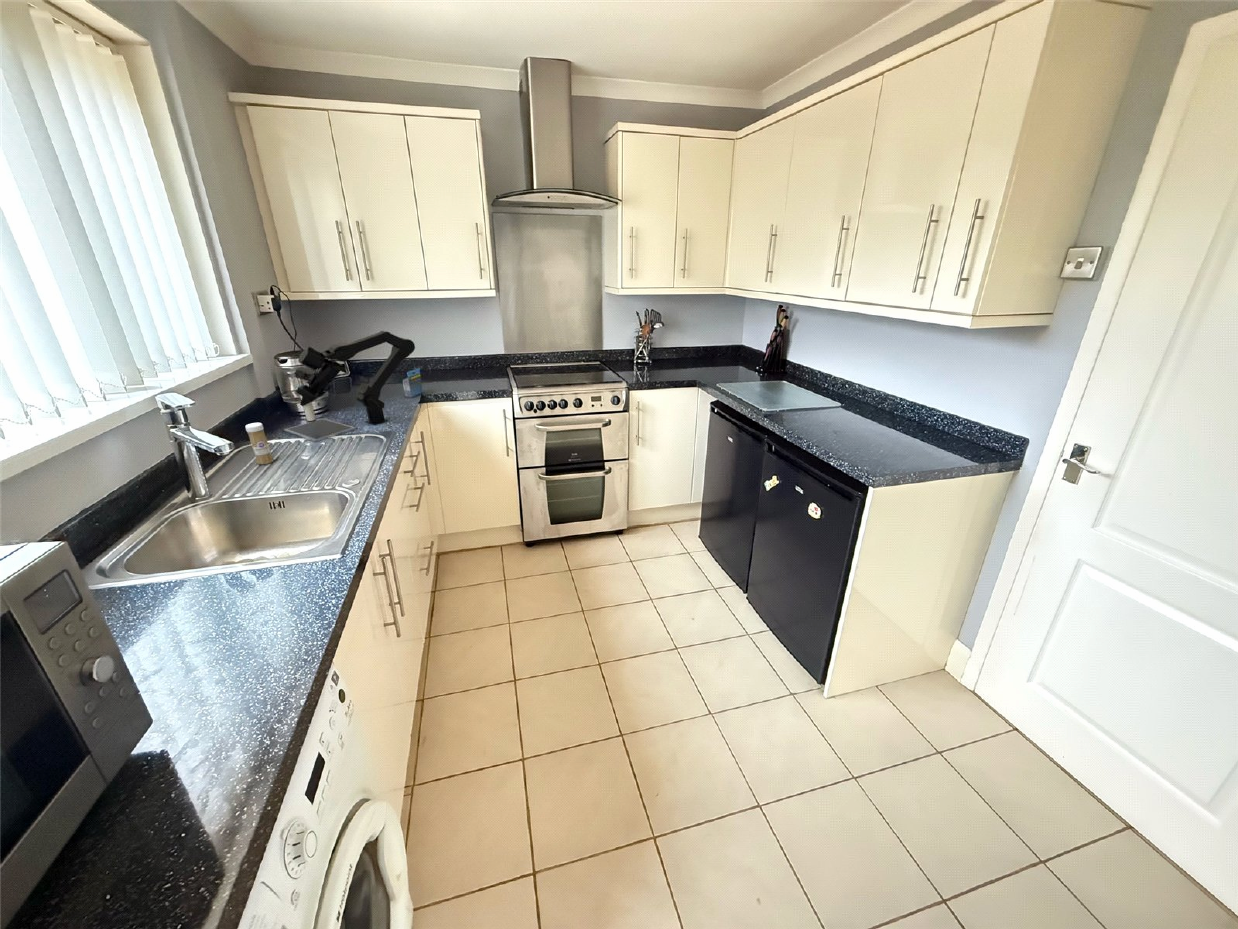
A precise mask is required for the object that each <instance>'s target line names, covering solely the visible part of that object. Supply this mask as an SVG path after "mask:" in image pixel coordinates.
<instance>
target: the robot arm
mask: <svg viewBox="0 0 1238 929" xmlns="http://www.w3.org/2000/svg"><path fill="white" fill-rule="evenodd" d="M385 343H386V344H389V345H391V351H390V354H389V356H388V357H387V359H385V361H384V362H383V364H382V366H381V367H380V368H379V369H378V370H377V372H376V374H375V375H374V376H373V378H372V379H371V380H370V381H369V382H368V383H367V384H366V383H364V382H362V383H361V384H360V387H359V388H358V389H356V394H355V397H356V398H355V399H356V401H357V402H358V403H360V404H362V405H363V407H364V408H365V410H366V415H367V420H365V423H367V424H370V425H374V426H376V425H378V424H382V423H385V422H388V421H389V418H385V414H384V408H385V402H384V401H382V400H380V396H381V391H382V388H383V387H384V386H385V385H386V383H387V382H388V380H389V379H390V377H391V376H392V375H393V374H394V372H395V371H396V369H398V368H397V367H398V366H399V365H400V364H401V362H402V361H403V360H405V359H406V358H408V357H409V356H410V355H412V354H413V353H414V351H415V349H416V345H415V342H414V341H413V340H411V339H409V338H405V337H400V336H397V335H395V334H393V333H391V332H389V331H387V330H381V331H379V332H376V333H374V334H371V335H368V336H365V337H363V338H359V339H357V340H354V341H350V342H341V343H334V344H332V345H330V346H329V348H328V349H326V350H324V351H321V352H320V351H318V350H316V349H314V348H312V346H307V347H306V348H305V349H304V350H303V351H302V352H301V353H300V354H299V356H298V358H297V359H298V360H297V362H298V363H299V364H301V365H303V366H299V367H297V368H296V370H295V371H294V372H293V375H294V377H295V378H296V379H300V380H302V381H306V382H305V383H306V384H301V385H302V386H300V385H299V386H300V387H299V388H297V389H296V390H295V392H296V394H298V395H299V396H300V395H301V396H302V400H301V399H300V403H299V405H300V406H301V407H303V406H304V405H306V404H308V403H310V402H311V403H313V402H315V401H316V400H317V399H319V398H320V397H321V396H323V395H325V394H326V392H329V391H331V390H332V389H333V387H334V384H333V382H334V381H335V378H336V377H337V376H338V375H339V374H340V372H342V373H344V374H347V373H348V370H347V366H346V363H342V362H347V361H349V360H350V359H352V358H354V357H355V356H356V355H358V354H359V353H361V352H363V351H366V350H369V349H371V348H374V347H376V346H379V345H382V344H385ZM340 362H341V363H340ZM304 366H306V367H304ZM307 367H308V368H307ZM309 368H310V369H309ZM316 370H317V371H316Z"/></svg>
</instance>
